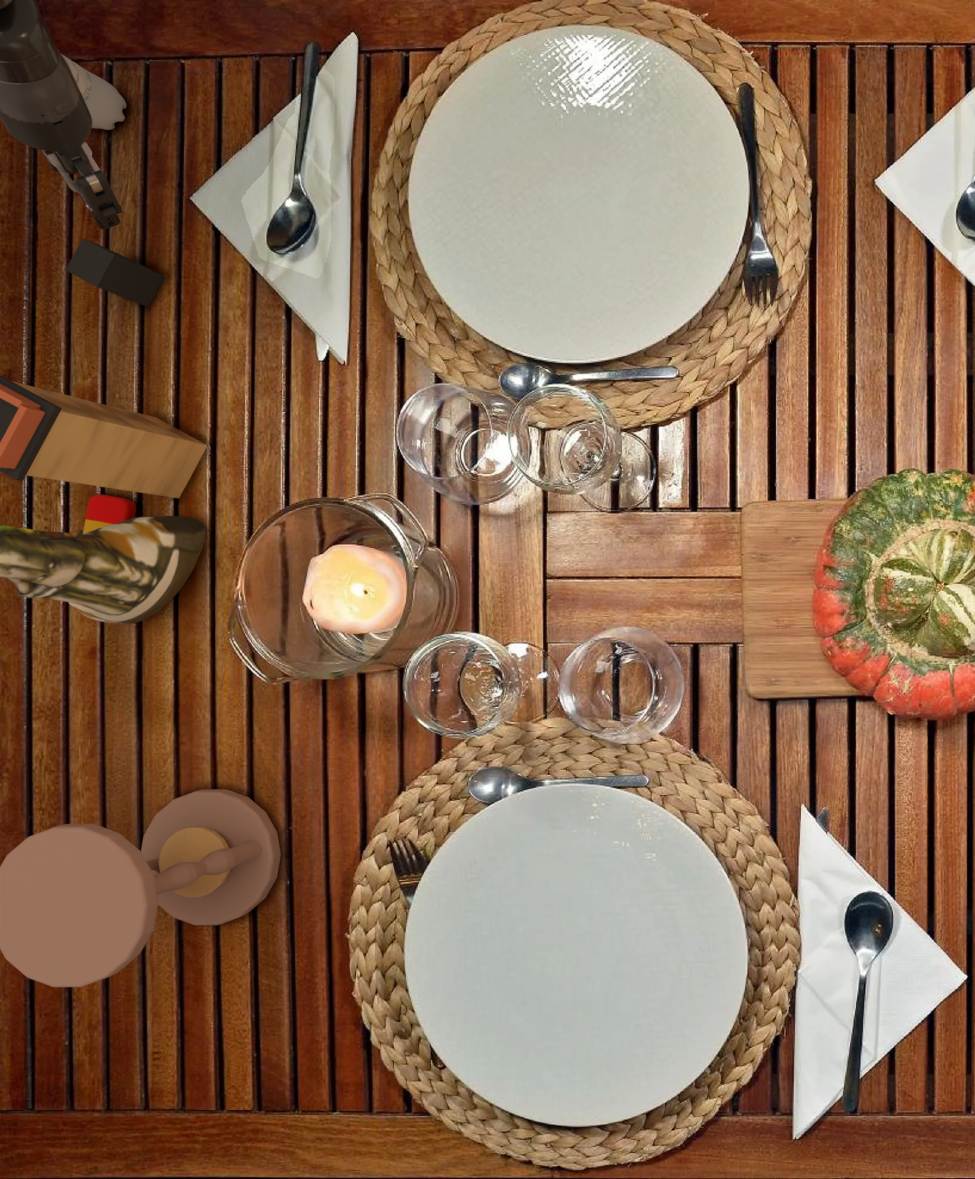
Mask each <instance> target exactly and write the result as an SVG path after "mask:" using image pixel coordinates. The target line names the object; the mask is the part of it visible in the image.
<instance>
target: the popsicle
mask: <svg viewBox="0 0 975 1179" xmlns="http://www.w3.org/2000/svg"><path fill="white" fill-rule="evenodd" d="M136 511H137V507H136V504H135V502H134V501H133V500H131V499H129V498H125V497H120V496H116V495H115V496H113V495H108V494H100V493H99V494H94V495H93V496H91V497H90V498H89V501H88V504H87V510H86V514H85V520H84V524H83V525H84V526H83V529H82V530H83V533H87V532H90V531H93V530H96V529H98V528H102V527H105V526H109V525H112V524H115V523H118V522H122V521H126V520H130V519H133V518H136Z"/></svg>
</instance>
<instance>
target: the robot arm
mask: <svg viewBox="0 0 975 1179" xmlns="http://www.w3.org/2000/svg"><path fill="white" fill-rule="evenodd" d="M61 54H62V53H61V52H60V51H59V49H58V46H57V43H56V42H55V40H54V37H53V35H52V32H51V31H50V28H49V27H48V24H47V23H46V20H45V19H44V17H43V14H42V13H41V12H40V9H39V7H38V4H37V2H36V0H0V120H1V122H2V124H3V125H4V127H5V129H6V130H7V132H8V133H9V134H10V136H12V137H13V138H14V139H15V140H16V141H18V142H20V143H21V144H23V145H25V146H27V147H30V148H32V149H35V150H40V151H42V153H43V155H44V156H45V158H46V161H47V162H48V164H49V167H50V168H51V169H52V170H53V171H54V172H55V173H59V175H60V176H61V178H62V180H63V182H65V184H66V185H67V187H68V188H69V190H71V191H73V192H74V193H77V194H78V195H79V196H80V198H81V199H82V201H83V203H84V206H85V208H86V209H87V210H89V213H90V214H91V216H92V219H93V221H94V222H95V224H96V225H97V227H98V228H99V229H100V230H102V231H105V230H108V229H111V228H114V227H116V226H119V225H120V223H121V219H120V217H119V214H123V213H124V211H123V207H122V206H121V204H120V203H119V201H118V199H117V197H116V195H115V193H114V191H113V189H112V187H111V185H110V182H109V180H108V178H107V175H106V174H105V172H103V171H102V170H101V169H100V168H99V165H98V164H97V163H96V161H95V160H94V158H93V151H92V150H91V147H90V146H89V145H88V143H87V142H86V139H87V138H88V136H90V134H91V131H92V129H93V128H92V117H91V114H90V112H89V110H88V107H87V105H86V103H85V101H84V99H83V96H82V94H81V92H80V90H79V88H78V85H77V83H76V81H75V79H74V77H73V74H72V72H71V70H70V68H69V66H68V64H67V62H66V61H65V59H64V58H63V56H62V55H63V54H62V55H61ZM77 174H79V175H80V176H78V177H76V178H75V180H72V178H71V176H70V175H77Z"/></svg>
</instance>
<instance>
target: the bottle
mask: <svg viewBox="0 0 975 1179" xmlns="http://www.w3.org/2000/svg"><path fill="white" fill-rule="evenodd" d="M61 55H62V56H63V58H64V59H65V61H66V62H67V64H68V66H69V68H70V70H71V72H72V74H73V77H74V79H75V81H76V83H77V85H78V88H79V90H80V92H81V94H82V96H83V99H84V101H85V103H86V105H87V107H88V110H89V112H90V114H91V117H92V128H91V129H101V130H106V131H111V130H114V129H115V128H116V126H115V123H117V122H120V123H121V122H124V121H125V119H126V117H125V115H124V113H123V110H125V109H126V108H127V102H126V100H125V98H124V97H123V96H122V95H121V94H120V92H119V91H118V89H116V87H115V86H113V84H111V83H110V82H109V81H106V80H105V79H103V78H101V77H99V76H98V75H96V74H94V73H92V72H90V71H88V70H86V69H85V68H84V67H82V66H81V65H79V64H78V63H76V62H75V61H73V60H71V59H70V58H68V57H67V56H65V55H64V54H62V53H61Z"/></svg>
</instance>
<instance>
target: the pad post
mask: <svg viewBox="0 0 975 1179" xmlns="http://www.w3.org/2000/svg"><path fill="white" fill-rule="evenodd" d="M65 271H66V272H67V273H70V274H72V275H74V276H75V277H77V278H78V279H81V280H83V281H85V282H86V283H88V284H90V285H92V286H93V287H96V288H98V289H101V290H103V291H106V292H109V293H111V294H114V295H116V296H118V297H122V298H124V299H126V300H129V301H131V302H134V303H137V304H139V305H142V306H144V307H147V308H149V307H150V306H151V304H152V302H153V300H154V298H155V296H156V295H157V292H158V290H159V289H160V287H161V285H162V283H163V281H164V279H165V276H164V275H163V274H160V273H158V272H156V271H155V270H153V269H151V268H149V267H147V266H146V265H144V264H141V263H140V262H138V261H136V260H134V259H132V258H129V257H127V256H125V255H123V254H120V253H118V252H116V251H114V250H111V249H109V248H107V247H105V246H102V245H101V244H98V243H96V242H93V241H91V240H89V239H87V238H84V237H82V238H81V240H80V242H79V244H78V246H77V248H76V250H75V251H74V253H73V255H72V257H71V258H70V260H69V263H68V264H67V266H66V268H65Z"/></svg>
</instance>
